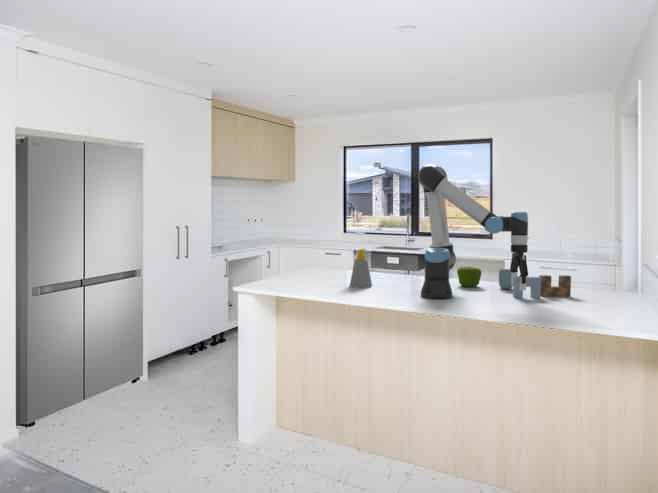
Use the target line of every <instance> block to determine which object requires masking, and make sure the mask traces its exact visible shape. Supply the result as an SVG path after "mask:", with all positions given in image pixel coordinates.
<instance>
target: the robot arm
mask: <svg viewBox="0 0 658 493" xmlns="http://www.w3.org/2000/svg"><path fill="white" fill-rule="evenodd" d="M417 180H418V182H419V184H420V185H421V186H422V188H423V190H422V191H423V194H424V196H426V197H427V198H426V199H427V207H428V214H429V226H430V227H429V228H430V233H431V235H430V236H431V244H430V245H429V248H428V249H426V250H425V251H424V252H425V253H424V281H423V284H422V287H421V290H420V296H421V298H425V299H430V300H431V299H432V300H446V299H452V298H453V289H452V287H451V284H450V270H452V269H453V268H454V266H455V265H456V260H457V256H456V253H455V252H454V244H453V243H452V242H451V241H450V236H449V233H450V232H449V227H448V226H449V223H448V216H447V207H446V200H447V201H448V202H449V203H451V204H452V205H453V206H455V208H457V209H459V210H460V211H461V212H462V213H464V214H465V215H467V216H468V217H470V218H471V219H472V220H473V221H475V222H477V224H479V225H480V226H482V227H483V228H484V230H485V231H486V232H488V233H489V234H499V233H500V232H502V233H504V232H505V233H506V232H510V243H511V245H510V252H511V262H510V266H509V270H511V272H512V273H511V286H513V277H514V276H518V273H519V277H520V290H523V291H527V287H526V277H529V269H528V264H527V255H525V254H526V253H528V242H529V241H528V240H529V238H530V237H529V236H528V234H529V214H528V212H526V211H512V212H511V213H510V215H507V216H506V215H496V214H495V213H493V212H491V210H489V209H488V208H486V207H485V206H483V205H482V204H480V203H479V202H478V201H477V200H475V199H474V198H473V197H471V196H470V195H468V194H467V193H466V192H464V191H463V190H461V189H460V187H457V186H456V185H455V184H453V183H452V182H450V181H449V180H448V174H447V172H446V170H445V169H444V168H443V167H441V166H439V165H435V164H427V165H426V164H425V165H424V166H422V167H421V168H420V169H419V172H418V173H417ZM524 253H525V254H524ZM518 269H519V270H518Z"/></svg>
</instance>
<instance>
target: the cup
mask: <svg viewBox="0 0 658 493" xmlns="http://www.w3.org/2000/svg"><path fill="white" fill-rule="evenodd" d="M511 273H512V272H511V270H510V268H509V269H505V268H504V269H503V268H502V269H501V268H500V269H499V270H498V286H499V288H500V289H502V290H511V289H513V286H511Z"/></svg>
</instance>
